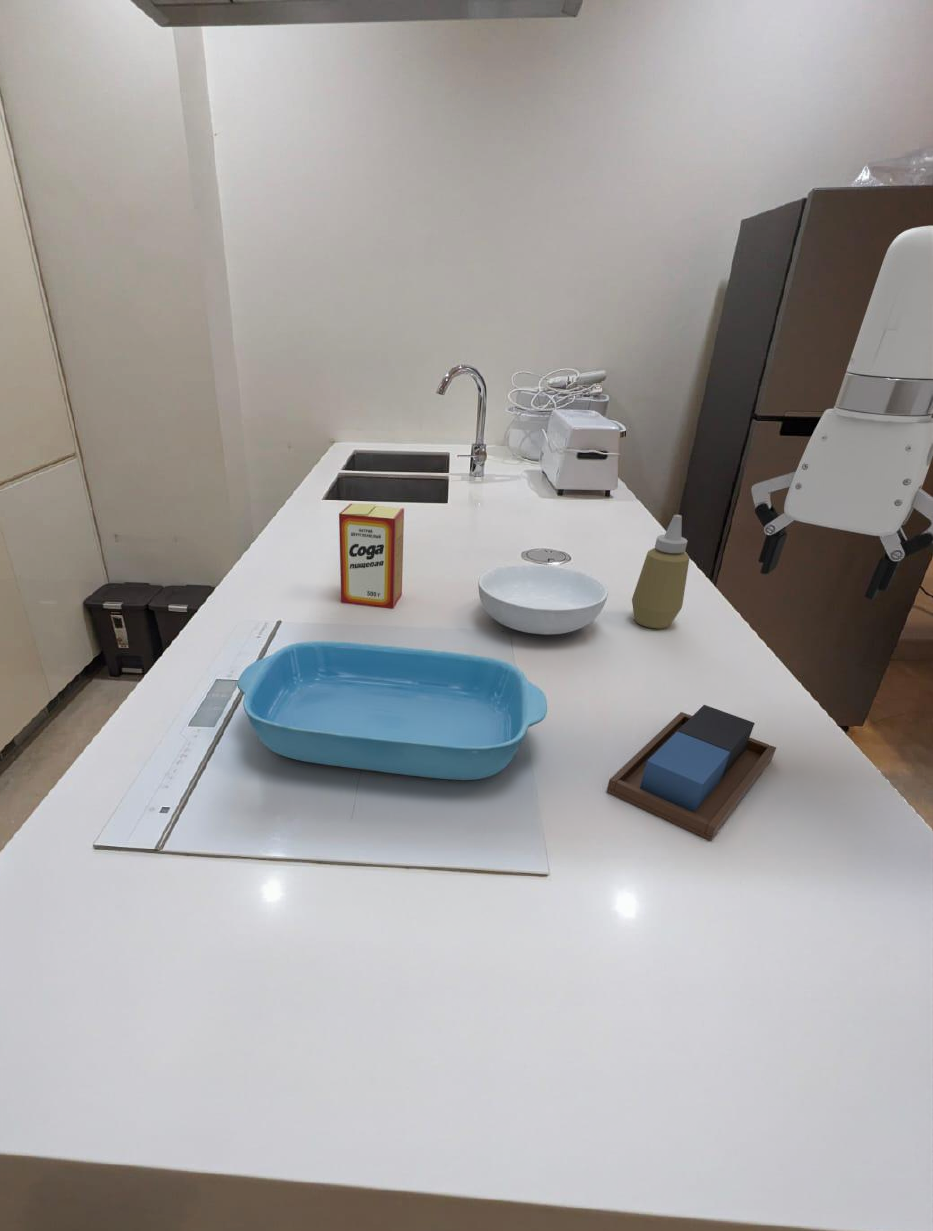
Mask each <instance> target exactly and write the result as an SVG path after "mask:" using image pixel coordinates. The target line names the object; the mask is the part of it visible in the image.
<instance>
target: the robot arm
mask: <svg viewBox="0 0 933 1231" xmlns="http://www.w3.org/2000/svg"><path fill="white" fill-rule="evenodd" d="M886 250H887V251H886V253H885V255H884V258H883V261H882V265H881V267H880V270H879V272H878V276H877V278H876V281H875V285H874V288H873V290H872V292H871V293H872V294H871V296H870V299H869V302H868V305H867V308H866V312H865V315H864V316H863V320H862V322H861V325H860V329H859V332H858V334H857V338H856V341H855V344H854V347H853V350H852V352H851V355H850V359H849V362H848V365H847V368H846V370H845V374H844V376H843V379H842V382H841V386H840V388H839V392H838V394H837V398H836V400H835V403H834V406H833V408H827V409H825V410H824V412H823V413H822V415H821V417H820V419H819V421H818V423H817V425H815V426H816V427H815V428H814V430H813V433H812V435H810V438H809V441H808V443H807V445H806V447H805V450H804V452H803V454H802V456H801V459H800V460H799V464H798V465H797V468H796V471H792V472H789V473H785V474H782V475H778V476H775V477H772V478H769V479H765V480H762V481H759V482H757V483H754V484H753V485H752V486H751V488H750V491H751V497H752V500H753V505H754V508H755V509H754V514H755V515H756V518H757V519H758V520H759V522H760V523H761V525H762V527H763V532H764V534H765V539H764V542H763V545H762V549H761V551H760V555H759V558H758V563H761V564H762V566H761V568H760V574H761V575H769V574H770V573H771V572H773V571H774V570H775V569H777V566H778V563H779V561H780V558H781V555H782V551H783V549H784V546H785V543H786V540H787V536H788V532H787V530H786V529H787V526H788V525H790V524H791V523H793V522H794V521H796V522H801V523H805V524H810V525H814V526H819V527H825V528H830V529H835V530H840V531H847V532H851V533H857V534H862V535H867V536H875V537H879V540H880V541H881V543H882V546H883V548H884V551H885V554H884V555H883V556H882V557H881V558H880V559H879V560H878V562H877V566H876V567H875V570H874V572H873V575H872V577H871V580H870V582H869V584H868V587H867V589H866V591H865V594H864V598H866V600H870V601H873V600H874V598H875V597H876V596H877V595H878V594H879V592H880V591H882V592H887V591H888V590H889V587H890V586H891V583H892V581H893V579H894V576H895V575H896V572H897V570H898V568H899V565H900V563H901V561H902V560H903V559H905V558H907V557H909V556H911V555H913V554H915V553H918V552H919V551H922V550H924V549H927V548H928V547H930V546H931V545H932V544H933V496H932V495H930V494H929V493H927V492H926V491H925V490H924V489H922V488H923V485H924V483H925V480H926V477H927V474H928V471H929V468H930V465H931V463H932V460H933V225H924V226H917V227H912V228H909V229H906V230H904V231H903V232H901V233H900V234H898V235H897V236H896V237H895V238H894V239H893V241H892V242H891V243H890V244H889V247H888V248H887V249H886ZM787 488H788V491H787V494H786V497H785V500H784V505H783V512H782V513H781V514H780V515H779V513H778V511H777V510H776V509H775V507H774V505H773V504H772V502H771V493H772V492H773V493H774V492H776V491H779V490H783V489H787ZM914 509H915V510H916V511H917V512H918V513H920V514H922V516H924V517H925V518H927V519H928V520H929V521H930V522H931V524H930V526H928V527H927V528H926V529H925V530H924V531H922V532H920V533H918V534H916V535H914V536H912V537H910V538H907V536H906V534H905V532H904V530H903V527H902V526H905V525H906V523H907V522H908V521H909V519H910V517H911V515H912V513H913V511H914Z"/></svg>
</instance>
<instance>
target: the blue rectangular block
mask: <svg viewBox="0 0 933 1231" xmlns="http://www.w3.org/2000/svg"><path fill="white" fill-rule="evenodd" d="M729 755H730V752H729V751H727V750H724V749H722V748H719V747H716V746H714V745H711V744H709V743H706V742H704V741H701V740H699V739H696V738H693V737H691V736H688V735H686V734H683V733H681V732H678V731H677V732H676V733H675V734H674V735H673V736H672V737H671V738H670V739H669V740H668V741H667V742H666V743H665V744H664V745H663V746H662V747H661V748H660V749H659V750H658V751H657V752H656V753H655V754H654V755H653V756H652V757H651V758H650V759H649V760H648V761H647V763H646V767H645V771H644V774H643V778H642V782H641V785H640V789H641V790H644V791H646V792H648V793H650V794H652V795H655V796H657V797H659V798H661V799H663V800H666V801H668V802H670V803H672V804H674V805H677V806H679V807H681V808H683V809H685V810H688V811H690V812H692V813H694V812H695V811H696V810H697V809H698V807H699V806H700V805H701V804H702V802H703V801H704V800H705V799H706V798H707V796H708V795H709V794H710V793H711V791H712V790H713V789H714V788H715V787H716V785H717V784H718V783H719V782H720V780H721V777H722V775H723V772H724V769H725V766H726V763H727V760H728V757H729Z"/></svg>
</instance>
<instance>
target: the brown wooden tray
mask: <svg viewBox="0 0 933 1231" xmlns="http://www.w3.org/2000/svg"><path fill="white" fill-rule="evenodd" d="M692 716H693V715H691V714H688V713H686V712H683V711H680V712H679V713H678V714H677V715H676V716H675V717H674V718H673V719H672V720H671V721H670V722H669V723H668V724H667V725H665V726H664V727H663V728H662V729H661V730H660V731H659V732H658V733H657V734H656V735H655V736H654V737H652V739H651V740H650V741H648V743H646V744H645V745H644V746H643V747H642V748H641V749H640V750H639V751H638V752H637V753H636V754H635V755H634V756H633V757H632V758H631V759H629V761H627V762H626V763H625V764H624V765H623V766H622V767H621V768H619V770H617V771H616V773H614V775H612V776H611V777H610V778H609V781H608V784H607V788H606V793H608V794H610V795H612V796H614V797H616V798H619V799H620V800H623V801H624V802H627V803H629V804H631V805H633V806H636V807H637V808H639V809H641V810H644V811H646V812H648V813H651V814H652V815H655V816H657V817H659V818H661V819H663V820H665V821H666V822H669V823H671V824H674V825H676V826H678V827H680V828H681V829H683V830H686V831H688V832H690V833H693V835H694V834H695V835H697V836H699V837H701V838H703V839H704V840H707V841H710V842H712V840H714V838H715V837H716V835H717V834H718V832H719V831H720V830H721V828H722V827H723V826H724V824H725V823H726V822H727V820H728V819H729V818H730V816H731V815H732V814H733V812H734V811H735V809H736V808H737V807H738V806H739V804H740V803H741V802H742V800H743V799H744V798H745V796H746V795H747V794H748V793H749V791H750V790H751V788H752V787H753V786H754V784H755V783H756V782H757V780H758V779H759V777H760V776H761V775H762V773H763V772H764V771H765V769H767V767H768V766H769V764H770V763H771V761H773V758H774V755H775V753H776V751H777V746H774V745H771V744H769V743H766V742H763V741H760V740H759V739H755V738H752V737H750V738H749V740H748V743H747V746H746V749H745V751H744V752H743V753H742V755H741V756H740V757H739V758H738V759H737V761H736V762H735V763H734V764H733V766H732V767H731V768H730V769H729V770H728V772H727V773H726V774H725V775H724V777H723V778H722V779H721V780H720V782H719V783H718V784H717V785H716V787H715V788H714V789H713V790H712V791H711V793H710V794H709V795H708V796H707V798H706V799H705V800H704V801H703V802H702V804H701V805H700V806H699V807H698V809H697V810H696V811H695V812H694V813H692V812H690V811H688V810H685V809H683V808H681V807H679V806H677V805H674V804H672V803H670V802H668V801H666V800H663V799H661V798H659V797H657V796H655V795H652V794H650V793H648V792H646V791H644V790H641V789H640V785H641V782H642V778H643V774H644V771H645V767H646V763H647V761H648V760H649V759H650V758H651V757H652V756H653V755H654V754H655V753H656V752H657V751H658V750H659V749H660V748H661V747H662V746H663V745H664V744H665V743H666V742H667V741H668V740H669V739H670V738H671V737H672V736H673V735H674V734H675V733H676V732H677V731H678V730H679V729H680V728H681V727H682V726H683V725H684V724H685V723H686V722H687V721H688V720H689V719H690V718H691V717H692Z"/></svg>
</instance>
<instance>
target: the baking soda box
mask: <svg viewBox="0 0 933 1231" xmlns="http://www.w3.org/2000/svg"><path fill="white" fill-rule="evenodd" d="M404 524H405V508H404V507H394V506H383V505H377V503H376V504H375V503H350V504H348V505H347V506H346V507H345V508H344V509H342V511H340V512H339V513H338V525H339V526H338V528H339V529H338V530H339V534H338V535H339V568H340V570H339V572H340V603H341V604H349V605H358V606H367V607H376V608H385V609H394V608H395V607H396V605H397V603H398V602H399V601H400V599H401V597H402V595H403V568H404V567H403V566H404V564H403V562H404Z"/></svg>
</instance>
